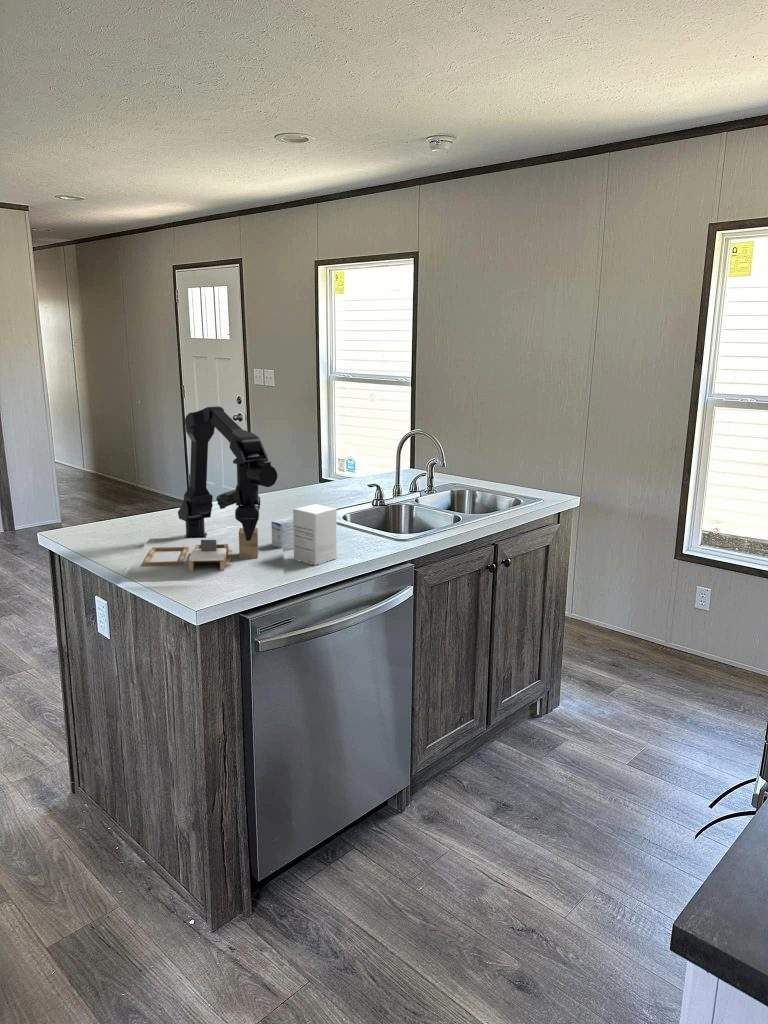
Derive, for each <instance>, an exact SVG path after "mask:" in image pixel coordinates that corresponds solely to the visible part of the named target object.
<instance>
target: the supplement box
mask: <svg viewBox="0 0 768 1024" xmlns="http://www.w3.org/2000/svg"><path fill="white" fill-rule="evenodd" d="M337 515H338V514H337V508H335V507H331V506H326V505H325V506H324V505H321V504H317V503H316V504H314V503H313V504H310V505H305V506H301V507H296V508H293V509H292V518H293V529H294V548H293V560H294V559H295V561H298V560H300V561H299V562H301V561H303V562H302V563H305V562H307V563H306V564H308V563H311V564H310V565H312V564H314V565H313V566H315V565H316V566H318V565H317V564H319V565H321V563H322V564H325V563H328V562H331V561H334V560H337V558H338V556H337V555H338V554H337V552H338V550H337V548H338V547H337V546H338V541H337V539H338V537H337V535H338V534H337V531H338V530H337V529H338V528H337V526H338V525H337V521H338V520H337ZM333 559H334V560H333ZM330 560H331V561H330ZM327 561H328V562H327ZM324 562H325V563H324Z"/></svg>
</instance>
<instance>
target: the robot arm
mask: <svg viewBox="0 0 768 1024" xmlns="http://www.w3.org/2000/svg"><path fill="white" fill-rule="evenodd" d="M184 425H185V433H186V434H187V436H188V437H189V439H190V470H189V487H188V488H187V490H186V492H185V493H184V495H183V501H182V504H181V506H180V508H179V510H178V511H177V515H178V519H179V520H182V521H184V522H185V535H184V537H183V539H206V538H207V536H208V533H207V532H206V531H205V519H208V518H209V519H210V518H211V516H212V510H213V504H214V503H213V500H214V499H213V498H214V497H213V494H211V493H210V492H209V489H207V481H208V455H209V442H210V440H211V439H212V438H213V435H215V430H217V431H218V432H219V433H220V434H221V435H222V436H223V437H224V438H225V439H226V440H227V442H229V449H230V451H231V452H232V454H233V455H234V456H235V459H233V460H232V464H235V465H236V481H237V482H236V486H235V489H233V490H232V489H231V490H229V491H225V492H224V493H221V494H219V495H217V496H216V498H215V499H216V502H217V505H218V506H219V509H220V510H223V509H225V508H227V507H230V506H233V505H235V506H237V507H236V508H235V511H234V519H235V520H236V521H237V522H239V523H240V524H241V525H242V528H243V529H244V533H245V537H246V540H247V541H250V540H251V538H252V535H253V532H254V530H255V528H257V524H258V521H259V519H260V509H261V497H260V494H259V486H262V487H265V488H270V487H272V486H274V485H275V484H276V481H277V479H278V472H277V470H276V468H275V467H274V466H273V465H272V462H271V461H270V460H269V458H268V453H267V451H266V450H265V447H264V446H263V443H262V440H261V439H260V437H259V436H258V435H256V434H255V433H253V432H251V431H247V430H246V429H243V428H242V427H240V426H239V425H238V424H237V422H235V421H234V419H232V418H231V417H230V415H228V413H226V412H225V409H224V408H223V407H222V406H220V405H218V406H206V407H204V408H203V409H200V410H197V411H195V412H188V414H187V415H185V418H184Z"/></svg>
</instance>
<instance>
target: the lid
mask: <svg viewBox="0 0 768 1024" xmlns="http://www.w3.org/2000/svg"><path fill="white" fill-rule="evenodd" d="M217 544H218V543H217V539H201V541H200V545H201V549H195V548H192V549H191V553H190V554H189V558H188V562H189V561H224V559H225V555H226V548H217Z"/></svg>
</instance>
